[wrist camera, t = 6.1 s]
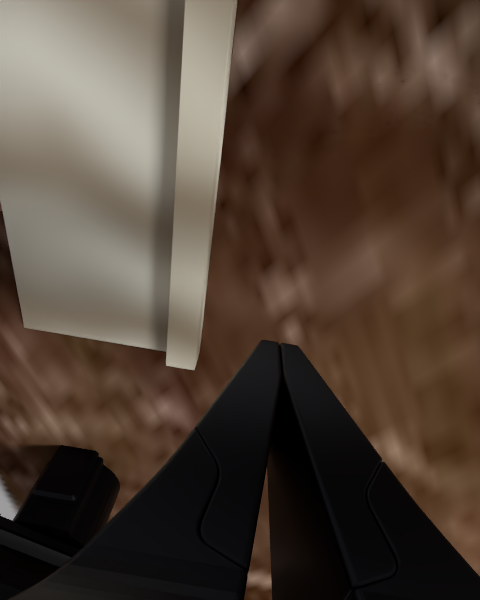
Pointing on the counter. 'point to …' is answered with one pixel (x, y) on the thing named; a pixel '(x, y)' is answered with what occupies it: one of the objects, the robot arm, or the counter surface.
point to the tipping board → (114, 164)
